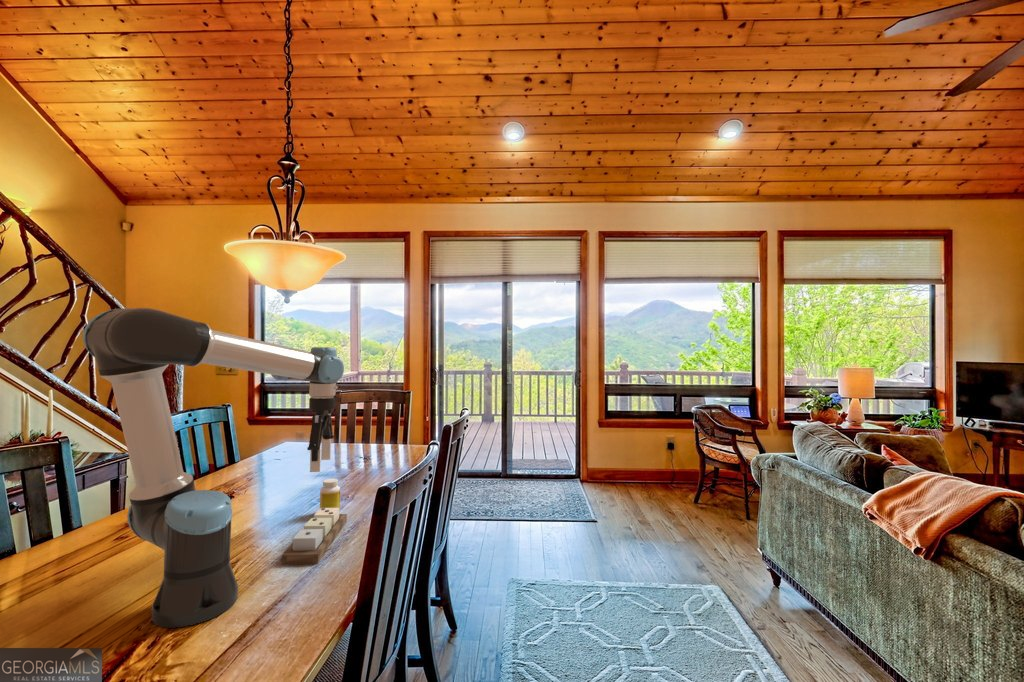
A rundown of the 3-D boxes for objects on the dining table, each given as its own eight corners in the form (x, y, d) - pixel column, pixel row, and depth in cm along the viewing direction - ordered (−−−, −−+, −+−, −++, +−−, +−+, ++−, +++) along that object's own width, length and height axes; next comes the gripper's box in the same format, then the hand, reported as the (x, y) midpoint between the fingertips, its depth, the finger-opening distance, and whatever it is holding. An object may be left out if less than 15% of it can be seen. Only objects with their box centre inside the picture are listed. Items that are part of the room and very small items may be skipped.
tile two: (325, 537, 125) (325, 525, 125) (303, 537, 124) (304, 525, 124) (331, 528, 130) (331, 517, 130) (311, 528, 130) (311, 517, 130)
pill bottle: (342, 513, 148) (343, 480, 148) (324, 518, 143) (325, 484, 143) (334, 508, 152) (335, 476, 152) (316, 513, 148) (317, 480, 148)
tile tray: (317, 563, 114) (318, 554, 114) (281, 564, 113) (282, 554, 113) (346, 521, 141) (346, 514, 141) (317, 522, 140) (317, 514, 140)
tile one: (315, 550, 117) (315, 537, 117) (292, 550, 116) (292, 537, 116) (322, 540, 122) (322, 528, 122) (300, 540, 122) (301, 528, 122)
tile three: (333, 525, 133) (333, 514, 133) (313, 525, 132) (314, 514, 132) (339, 517, 138) (339, 507, 138) (320, 518, 138) (320, 507, 138)
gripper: (326, 402, 125) (324, 477, 124) (343, 392, 149) (341, 454, 149) (297, 402, 123) (295, 477, 123) (319, 392, 148) (317, 455, 148)
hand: (320, 465), depth 136 cm, fingers open, 13 cm apart
